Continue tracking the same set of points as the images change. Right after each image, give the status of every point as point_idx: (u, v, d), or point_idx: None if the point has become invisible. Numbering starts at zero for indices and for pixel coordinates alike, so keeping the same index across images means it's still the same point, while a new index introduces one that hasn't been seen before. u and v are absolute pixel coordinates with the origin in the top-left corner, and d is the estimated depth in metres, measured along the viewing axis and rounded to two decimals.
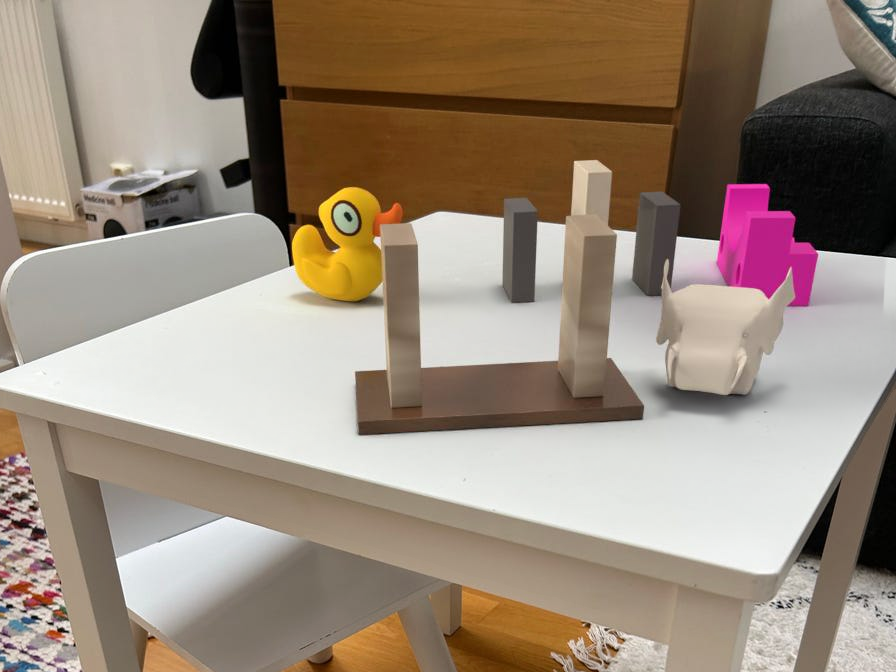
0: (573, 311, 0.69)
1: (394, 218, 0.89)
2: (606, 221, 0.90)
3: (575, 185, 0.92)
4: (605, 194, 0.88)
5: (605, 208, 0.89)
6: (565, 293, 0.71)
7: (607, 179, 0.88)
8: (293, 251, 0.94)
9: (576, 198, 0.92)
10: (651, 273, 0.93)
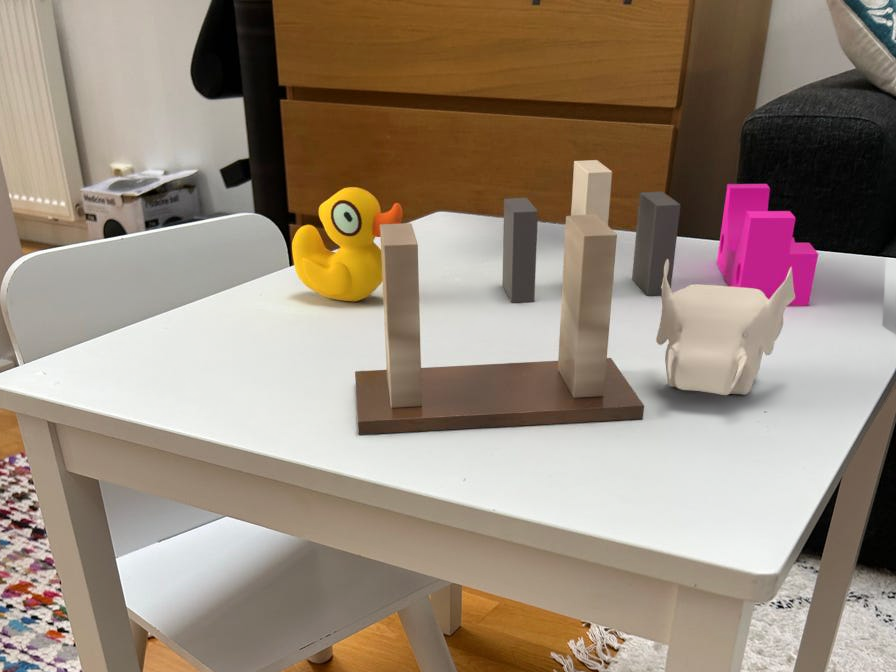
0: (573, 311, 0.69)
1: (394, 218, 0.89)
2: (606, 221, 0.90)
3: (575, 185, 0.92)
4: (605, 194, 0.88)
5: (605, 208, 0.89)
6: (565, 293, 0.71)
7: (607, 179, 0.88)
8: (293, 251, 0.94)
9: (576, 198, 0.92)
10: (651, 273, 0.93)
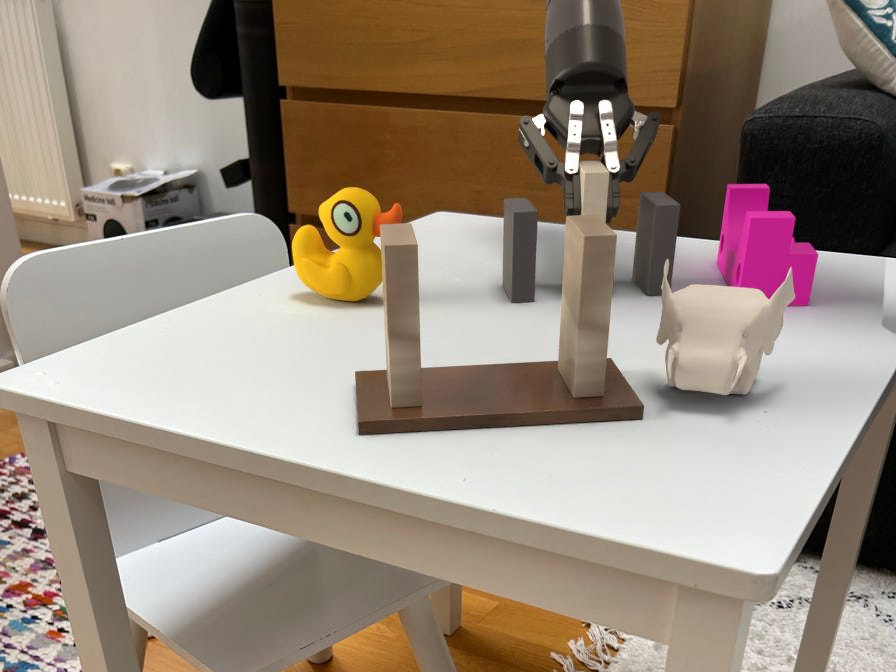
0: (573, 311, 0.69)
1: (394, 218, 0.89)
2: None
3: None
4: (602, 194, 0.88)
5: (602, 208, 0.89)
6: (565, 293, 0.71)
7: (604, 179, 0.88)
8: (293, 251, 0.94)
9: None
10: (651, 273, 0.93)
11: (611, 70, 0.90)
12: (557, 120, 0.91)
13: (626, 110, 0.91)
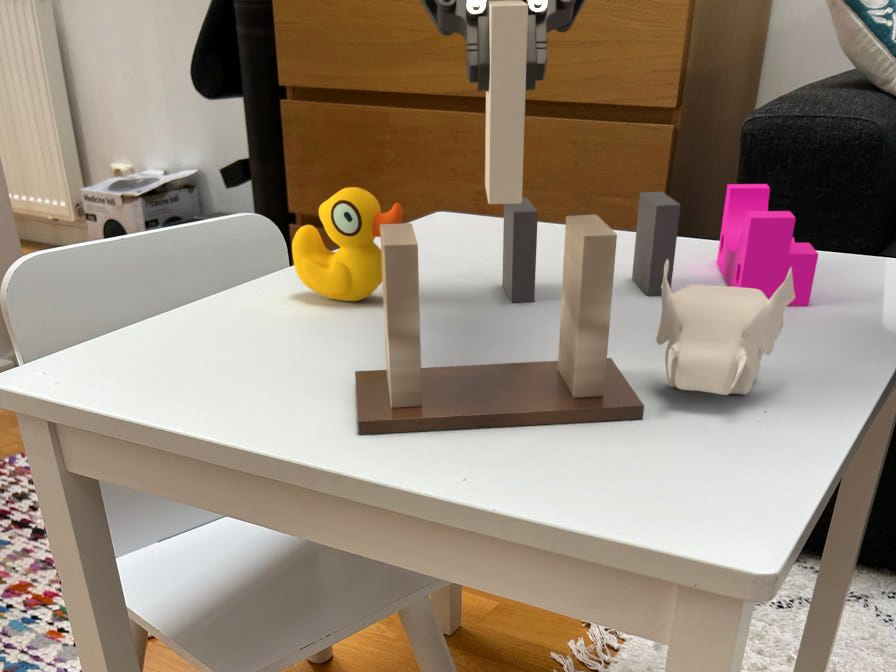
0: (573, 311, 0.69)
1: (394, 218, 0.89)
2: (522, 84, 0.61)
3: None
4: (519, 41, 0.59)
5: (520, 63, 0.60)
6: (565, 293, 0.71)
7: (520, 16, 0.59)
8: (293, 251, 0.94)
9: None
10: (651, 273, 0.93)
11: None
12: None
13: None
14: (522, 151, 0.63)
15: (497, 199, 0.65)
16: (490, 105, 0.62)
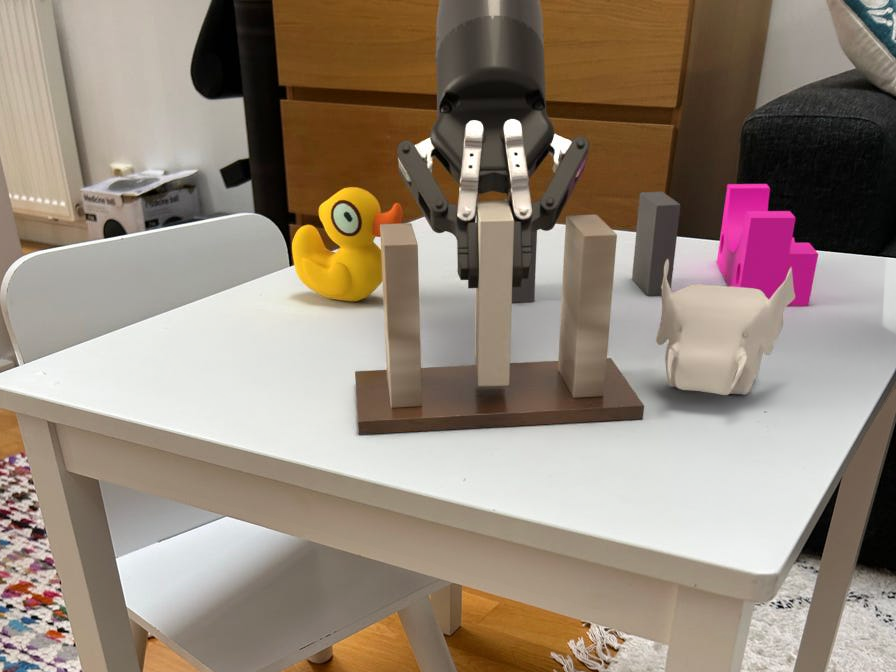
0: (573, 311, 0.69)
1: (394, 218, 0.89)
2: (509, 286, 0.66)
3: None
4: (506, 250, 0.64)
5: (507, 269, 0.65)
6: (565, 293, 0.71)
7: (507, 230, 0.64)
8: (293, 251, 0.94)
9: None
10: (651, 273, 0.93)
11: (520, 79, 0.66)
12: (448, 147, 0.67)
13: (542, 133, 0.67)
14: (509, 342, 0.68)
15: (486, 382, 0.70)
16: (479, 303, 0.66)
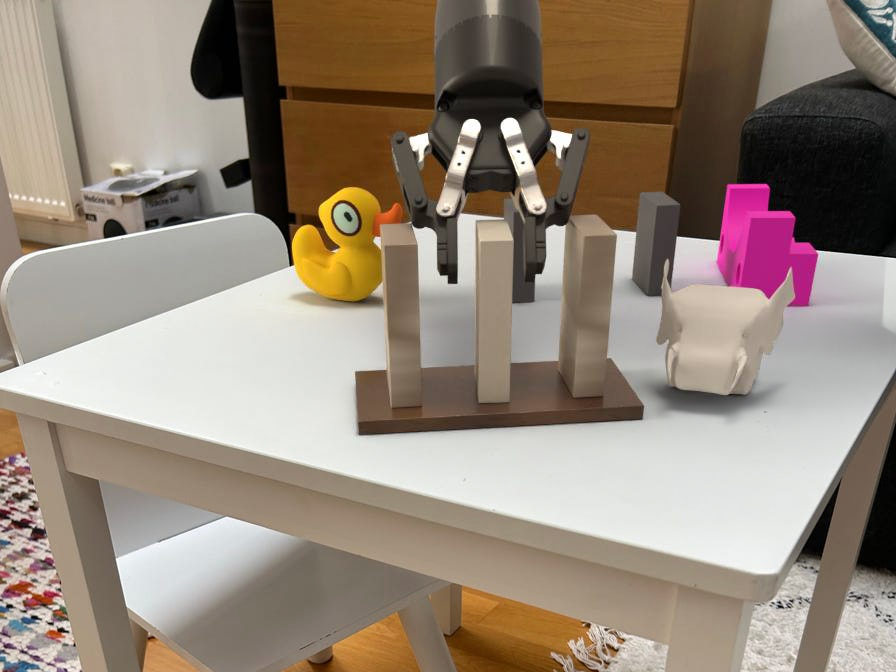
0: (573, 311, 0.69)
1: (394, 218, 0.89)
2: (509, 305, 0.66)
3: None
4: (505, 269, 0.65)
5: (506, 288, 0.66)
6: (565, 293, 0.71)
7: (506, 250, 0.64)
8: (293, 251, 0.94)
9: (476, 270, 0.69)
10: (651, 273, 0.93)
11: (518, 78, 0.66)
12: (446, 146, 0.67)
13: (541, 131, 0.67)
14: (509, 359, 0.68)
15: (486, 399, 0.70)
16: (479, 322, 0.67)
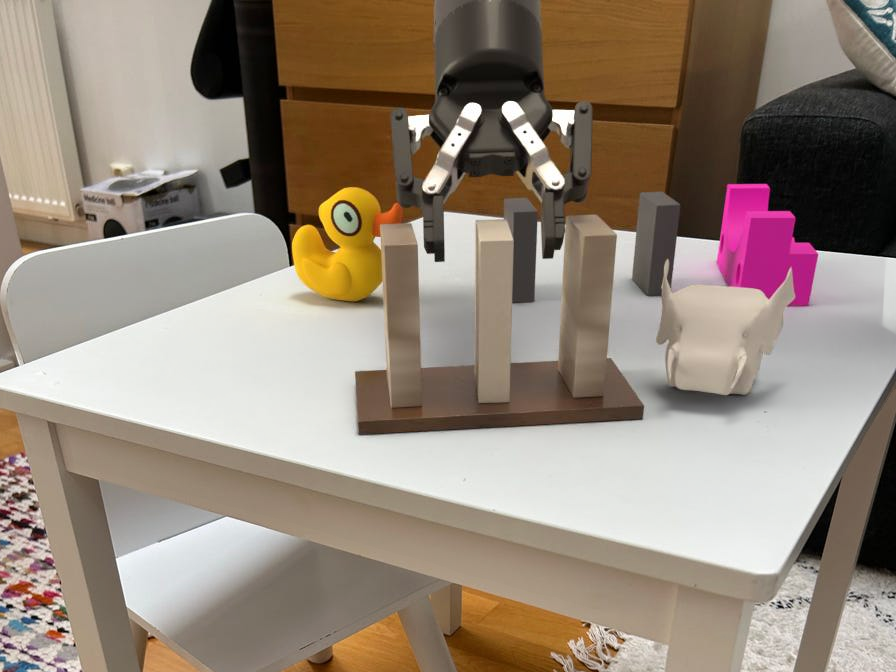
0: (573, 311, 0.69)
1: (394, 218, 0.89)
2: (509, 305, 0.66)
3: None
4: (505, 269, 0.65)
5: (506, 288, 0.66)
6: (565, 293, 0.71)
7: (506, 250, 0.64)
8: (293, 251, 0.94)
9: (476, 270, 0.69)
10: (651, 273, 0.93)
11: (518, 61, 0.65)
12: (447, 130, 0.67)
13: (543, 113, 0.67)
14: (509, 359, 0.68)
15: (486, 399, 0.70)
16: (479, 322, 0.67)
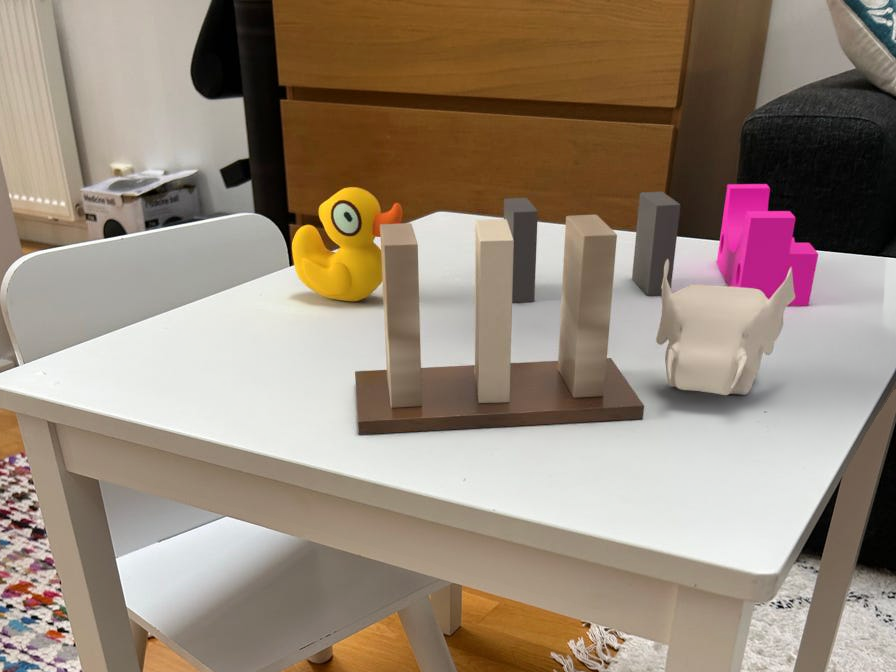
0: (573, 311, 0.69)
1: (394, 218, 0.89)
2: (509, 305, 0.66)
3: None
4: (505, 269, 0.65)
5: (506, 288, 0.66)
6: (565, 293, 0.71)
7: (506, 250, 0.64)
8: (293, 251, 0.94)
9: (476, 270, 0.69)
10: (651, 273, 0.93)
11: None
12: None
13: None
14: (509, 359, 0.68)
15: (486, 399, 0.70)
16: (479, 322, 0.67)
